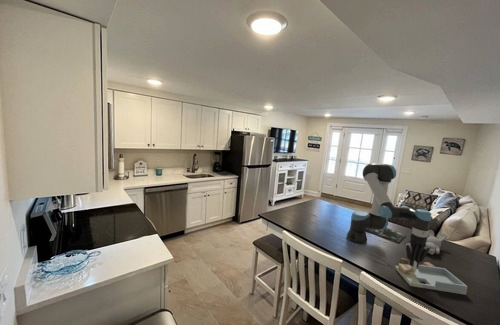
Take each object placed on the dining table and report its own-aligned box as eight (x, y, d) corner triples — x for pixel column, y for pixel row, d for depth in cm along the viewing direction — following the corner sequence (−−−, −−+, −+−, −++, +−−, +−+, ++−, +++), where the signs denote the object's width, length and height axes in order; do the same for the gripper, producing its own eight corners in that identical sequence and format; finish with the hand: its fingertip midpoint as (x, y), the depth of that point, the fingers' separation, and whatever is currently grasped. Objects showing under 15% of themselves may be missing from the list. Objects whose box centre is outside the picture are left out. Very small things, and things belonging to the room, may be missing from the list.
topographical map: (398, 244, 166) (399, 240, 166) (357, 228, 191) (357, 225, 190) (406, 235, 183) (407, 232, 183) (367, 222, 208) (368, 219, 207)
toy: (437, 261, 148) (445, 245, 165) (439, 249, 146) (447, 234, 163) (416, 253, 157) (427, 239, 175) (418, 242, 155) (428, 228, 173)
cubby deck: (410, 285, 116) (411, 277, 115) (395, 268, 132) (396, 261, 131) (465, 294, 112) (467, 286, 111) (443, 275, 127) (444, 268, 127)
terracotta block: (428, 271, 130) (429, 266, 130) (422, 268, 134) (423, 262, 134) (433, 271, 131) (434, 265, 131) (427, 267, 135) (428, 262, 135)
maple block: (403, 273, 123) (404, 269, 123) (397, 267, 129) (398, 263, 129) (414, 275, 123) (415, 270, 122) (408, 269, 128) (408, 264, 128)
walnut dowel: (401, 267, 133) (402, 260, 132) (398, 264, 137) (399, 257, 136) (408, 268, 132) (409, 261, 132) (404, 265, 136) (406, 258, 136)
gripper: (411, 236, 120) (404, 272, 123) (435, 239, 118) (428, 276, 121) (403, 230, 127) (397, 265, 130) (426, 233, 125) (420, 268, 128)
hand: (412, 270), depth 125 cm, fingers closed
